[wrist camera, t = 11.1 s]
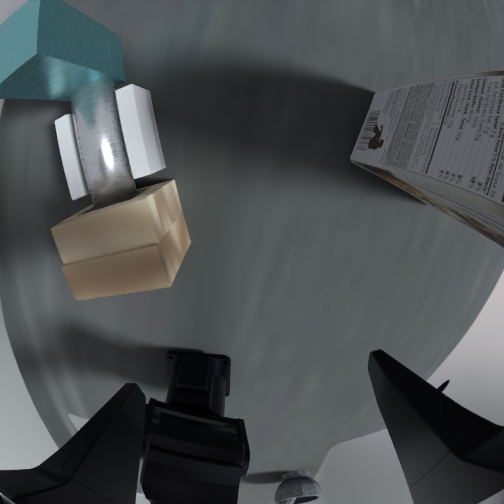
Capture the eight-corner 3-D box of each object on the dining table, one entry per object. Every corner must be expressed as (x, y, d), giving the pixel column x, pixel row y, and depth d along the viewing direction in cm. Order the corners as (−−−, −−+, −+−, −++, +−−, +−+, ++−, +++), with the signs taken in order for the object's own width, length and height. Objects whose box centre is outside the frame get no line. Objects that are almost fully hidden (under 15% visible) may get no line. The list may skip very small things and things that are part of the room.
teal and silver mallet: (156, 214, 18) (89, 283, 9) (110, 225, 19) (33, 293, 10) (120, 37, 13) (41, -10, 4) (76, 59, 13) (-13, 37, 4)
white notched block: (166, 167, 18) (150, 174, 15) (94, 189, 19) (72, 200, 16) (149, 91, 16) (132, 84, 13) (79, 120, 16) (54, 121, 13)
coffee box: (452, 144, 17) (606, 194, 3) (429, 207, 20) (572, 305, 5) (373, 88, 16) (566, 63, 1) (345, 161, 18) (540, 248, 4)
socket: (191, 242, 21) (170, 286, 15) (113, 258, 21) (76, 300, 15) (174, 179, 19) (142, 200, 13) (94, 202, 19) (46, 230, 13)
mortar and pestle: (326, 466, 41) (335, 513, 30) (305, 480, 45) (311, 521, 34) (277, 467, 39) (282, 518, 28) (259, 479, 43) (262, 524, 32)
